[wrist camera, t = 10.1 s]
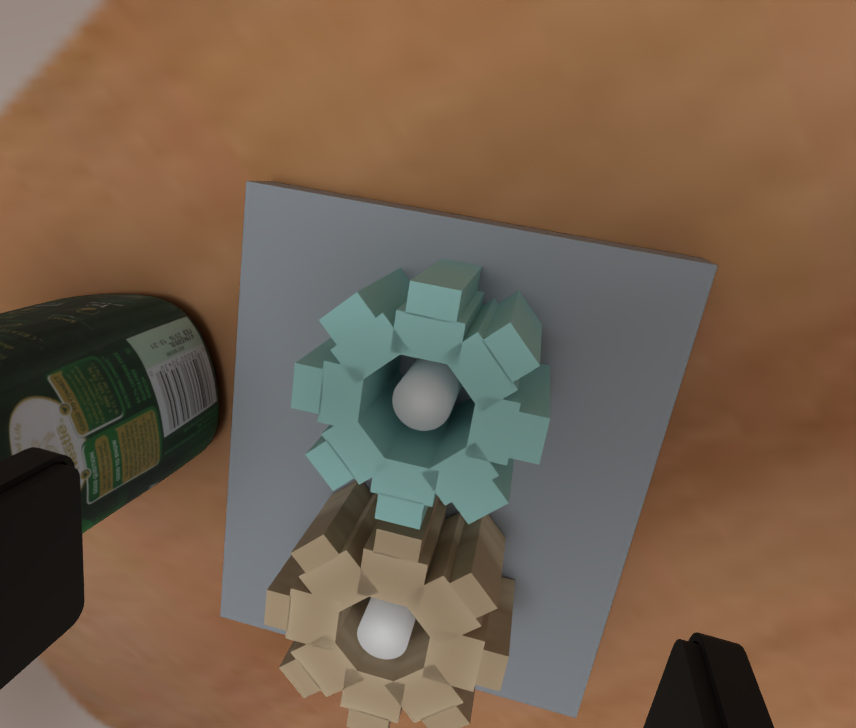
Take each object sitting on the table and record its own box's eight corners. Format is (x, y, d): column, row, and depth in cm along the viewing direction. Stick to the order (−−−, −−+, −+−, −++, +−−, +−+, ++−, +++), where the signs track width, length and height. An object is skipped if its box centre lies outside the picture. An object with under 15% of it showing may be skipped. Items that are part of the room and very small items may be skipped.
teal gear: (569, 282, 20) (575, 312, 15) (524, 475, 22) (517, 554, 17) (359, 243, 21) (304, 260, 16) (337, 431, 23) (282, 495, 18)
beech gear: (534, 503, 22) (531, 568, 18) (490, 678, 25) (480, 767, 21) (319, 451, 23) (274, 502, 20) (299, 625, 26) (257, 699, 22)
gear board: (702, 258, 21) (760, 285, 15) (573, 680, 27) (580, 813, 21) (271, 181, 23) (179, 180, 17) (241, 588, 29) (166, 686, 23)
